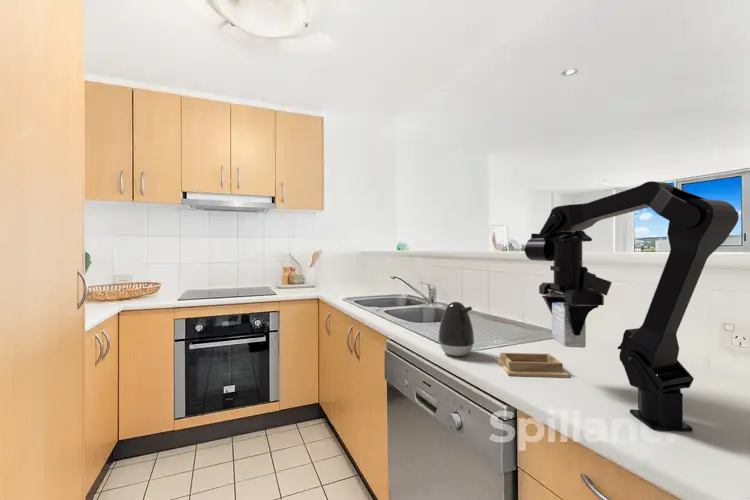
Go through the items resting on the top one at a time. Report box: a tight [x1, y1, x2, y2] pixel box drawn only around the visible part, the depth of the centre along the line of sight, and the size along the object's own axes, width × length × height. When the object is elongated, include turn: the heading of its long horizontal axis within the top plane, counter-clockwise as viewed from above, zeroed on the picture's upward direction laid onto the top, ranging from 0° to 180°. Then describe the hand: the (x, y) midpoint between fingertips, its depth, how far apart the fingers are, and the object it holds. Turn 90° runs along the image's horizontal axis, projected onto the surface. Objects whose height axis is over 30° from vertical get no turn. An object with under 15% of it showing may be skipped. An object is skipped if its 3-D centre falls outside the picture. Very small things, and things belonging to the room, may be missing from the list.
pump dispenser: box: [437, 301, 475, 357], centre depth 103 cm, size 10×10×15 cm
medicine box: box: [551, 302, 587, 349], centre depth 80 cm, size 8×4×9 cm, turn 172°
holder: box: [495, 352, 570, 378], centre depth 90 cm, size 12×14×3 cm
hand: (567, 330), depth 80 cm, fingers closed on medicine box, 8 cm apart
